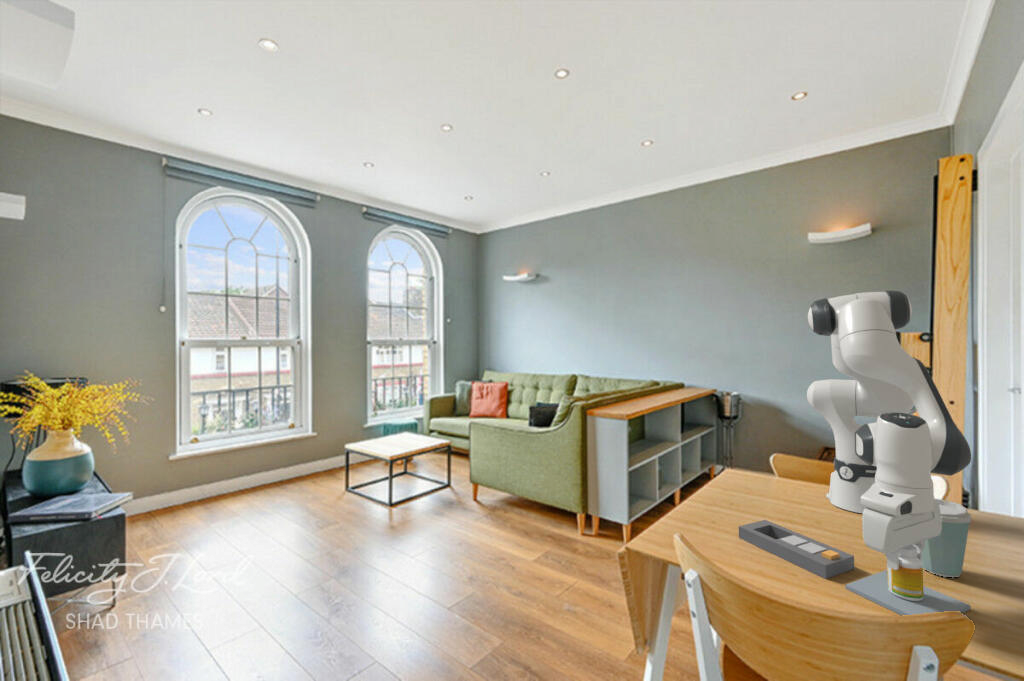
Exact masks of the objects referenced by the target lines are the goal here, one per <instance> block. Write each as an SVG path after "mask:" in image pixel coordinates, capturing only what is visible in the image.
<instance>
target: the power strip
mask: <svg viewBox="0 0 1024 681" xmlns="http://www.w3.org/2000/svg"><path fill="white" fill-rule="evenodd" d="M738 538H739V539H740V540H742V541H745V542H747V543H749V544H751V545H754V546H755V547H757V548H760V549H761V550H764V551H766V552H767V553H770V554H773V555H774V556H776V557H778V558H780V559H782V560H785V561H787V562H789V563H791V564H793V565H795V566H798V567H800V568H801V569H804V570H806V571H807V572H810V573H812V574H814V575H816V576H818V577H821V578H823V579H825V580H827V579H830V578H833V577H836V576H839V575H841V574H844V573H847V572H850V571H853V570H855V555H854V554H853V555H852V553H851V554H850V553H847V552H845V551H843V550H840V549H838V548H835V547H833V546H830V545H828V544H825V543H823V542H821V541H818V540H816V539H814V538H810V537H808V536H806V535H804V534H801V533H798V532H797V531H793V530H791V529H788V528H786V527H784V526H781V525H779V524H777V523H773V521H772V522H771V521H769V520H767V519H763V520H759V521H758V520H757V521H755V522H750V523H746V524H743V525H739V526H738Z"/></svg>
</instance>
